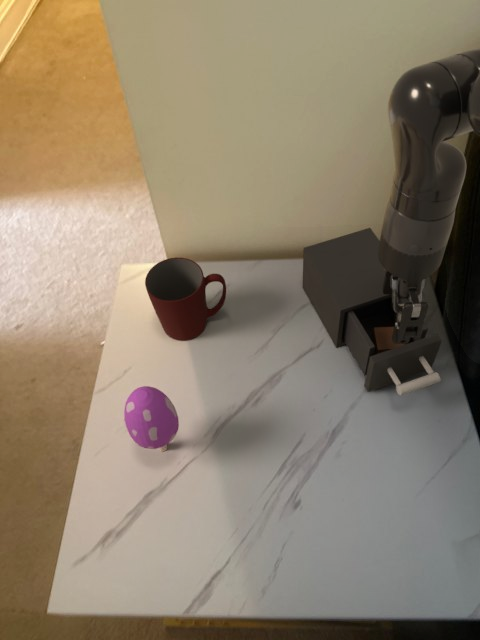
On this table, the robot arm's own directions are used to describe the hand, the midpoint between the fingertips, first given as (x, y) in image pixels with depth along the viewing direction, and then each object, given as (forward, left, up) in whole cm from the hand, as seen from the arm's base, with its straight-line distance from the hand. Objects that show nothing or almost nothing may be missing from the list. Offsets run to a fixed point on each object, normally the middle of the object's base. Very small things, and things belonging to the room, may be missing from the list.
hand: (394, 315), depth 78 cm
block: (0, 0, -9) cm, 9 cm away
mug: (+25, +19, -11) cm, 33 cm away
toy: (+9, +35, -11) cm, 37 cm away
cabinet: (+11, -3, -11) cm, 16 cm away
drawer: (0, 0, -10) cm, 10 cm away
